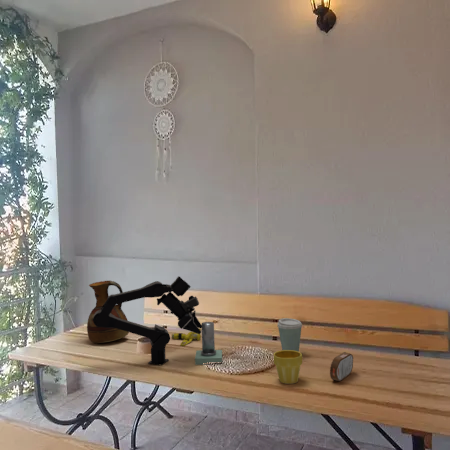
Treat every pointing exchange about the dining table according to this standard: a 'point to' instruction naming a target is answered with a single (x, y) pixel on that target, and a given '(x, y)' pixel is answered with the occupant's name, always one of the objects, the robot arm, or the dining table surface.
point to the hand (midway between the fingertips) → (201, 330)
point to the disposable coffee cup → (290, 333)
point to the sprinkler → (186, 337)
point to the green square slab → (207, 357)
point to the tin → (341, 366)
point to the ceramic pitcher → (101, 296)
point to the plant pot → (288, 365)
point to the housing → (208, 339)
